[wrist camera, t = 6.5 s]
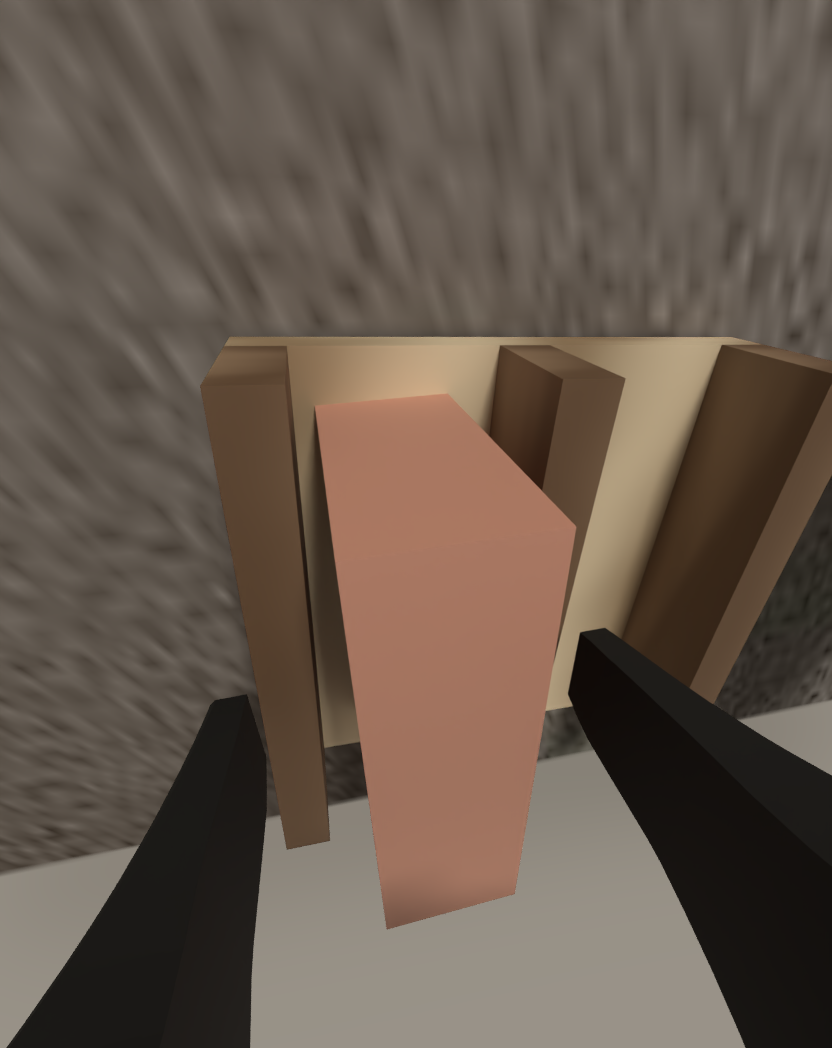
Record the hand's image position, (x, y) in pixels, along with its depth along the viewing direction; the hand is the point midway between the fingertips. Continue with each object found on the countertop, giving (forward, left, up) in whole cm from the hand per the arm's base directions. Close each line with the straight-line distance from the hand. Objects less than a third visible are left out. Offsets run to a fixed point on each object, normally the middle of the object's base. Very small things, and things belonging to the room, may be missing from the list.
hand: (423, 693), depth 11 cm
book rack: (-3, 0, -5) cm, 6 cm away
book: (0, 0, -4) cm, 4 cm away
